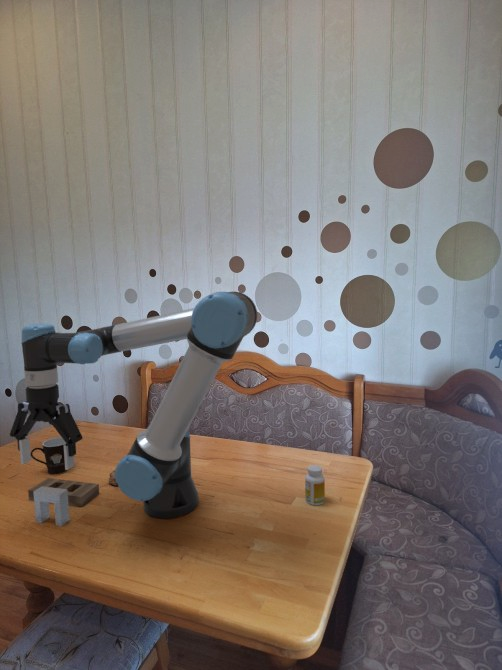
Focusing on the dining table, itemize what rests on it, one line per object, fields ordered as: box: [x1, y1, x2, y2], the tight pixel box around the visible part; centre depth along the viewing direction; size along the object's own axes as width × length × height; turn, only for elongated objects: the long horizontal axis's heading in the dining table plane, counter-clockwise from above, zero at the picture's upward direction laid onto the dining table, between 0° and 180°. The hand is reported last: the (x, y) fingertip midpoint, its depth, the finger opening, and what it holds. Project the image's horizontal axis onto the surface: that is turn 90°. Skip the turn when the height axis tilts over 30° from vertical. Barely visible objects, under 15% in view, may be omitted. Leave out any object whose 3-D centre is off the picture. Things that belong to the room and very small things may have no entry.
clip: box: [33, 486, 70, 527], centre depth 111 cm, size 8×3×8 cm, turn 75°
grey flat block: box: [27, 477, 100, 508], centre depth 124 cm, size 18×8×3 cm, turn 75°
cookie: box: [108, 469, 118, 487], centre depth 135 cm, size 10×11×3 cm
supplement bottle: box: [304, 464, 326, 506], centre depth 119 cm, size 5×5×10 cm
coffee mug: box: [30, 436, 70, 475], centre depth 143 cm, size 12×9×10 cm
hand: (47, 465), depth 110 cm, fingers open, 13 cm apart
